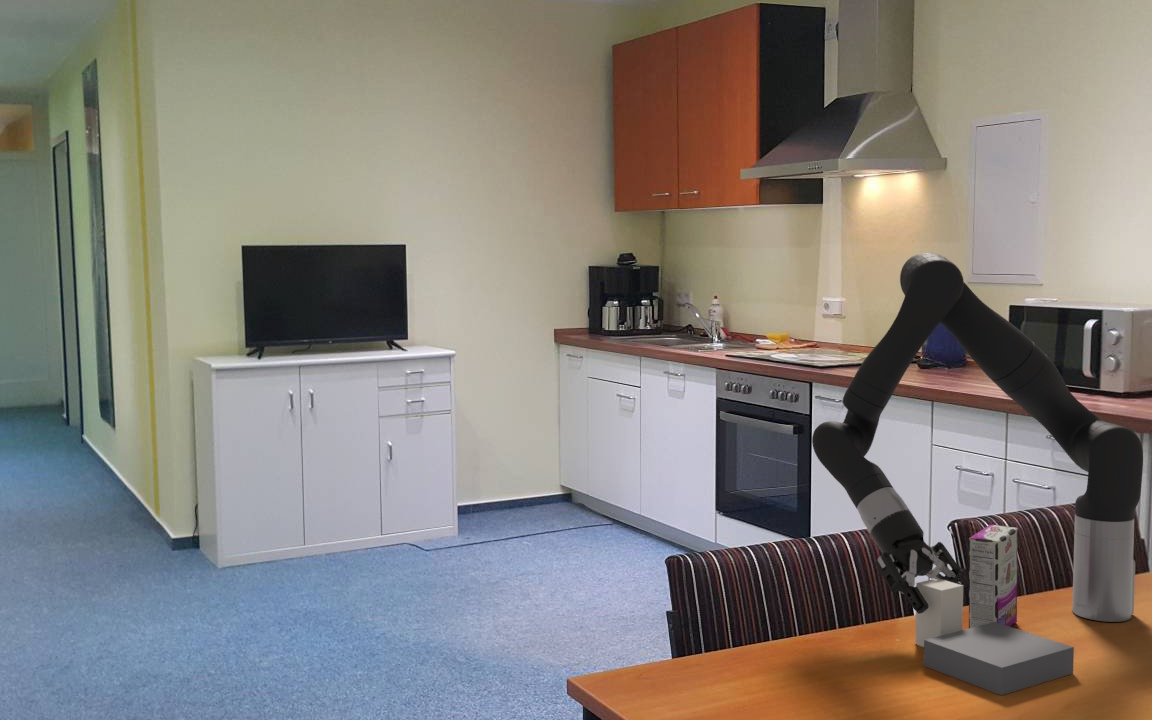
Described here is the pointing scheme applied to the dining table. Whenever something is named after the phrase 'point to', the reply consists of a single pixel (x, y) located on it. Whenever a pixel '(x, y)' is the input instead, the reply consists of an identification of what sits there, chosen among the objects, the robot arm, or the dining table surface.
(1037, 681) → the base board
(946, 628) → the cream block
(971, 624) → the candy bar box
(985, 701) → the dining table surface
